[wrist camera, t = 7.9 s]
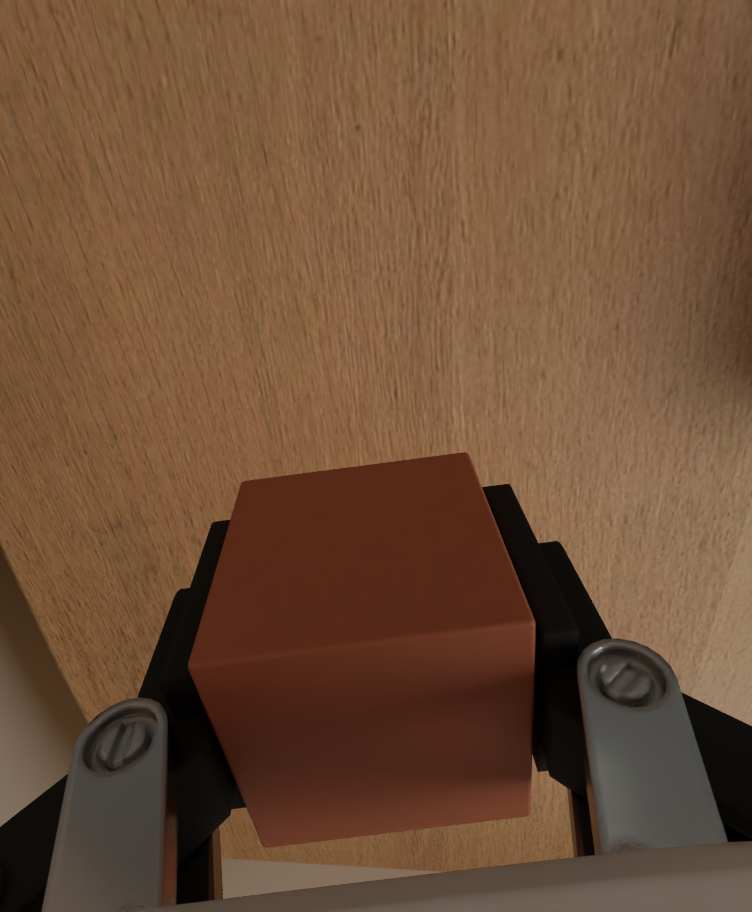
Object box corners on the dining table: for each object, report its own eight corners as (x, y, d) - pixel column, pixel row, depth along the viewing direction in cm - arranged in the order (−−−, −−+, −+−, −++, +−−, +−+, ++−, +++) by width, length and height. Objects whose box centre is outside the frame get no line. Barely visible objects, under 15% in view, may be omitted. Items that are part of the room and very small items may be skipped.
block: (240, 480, 11) (184, 667, 7) (468, 450, 11) (537, 623, 7) (285, 640, 13) (262, 850, 9) (475, 616, 13) (532, 817, 9)
